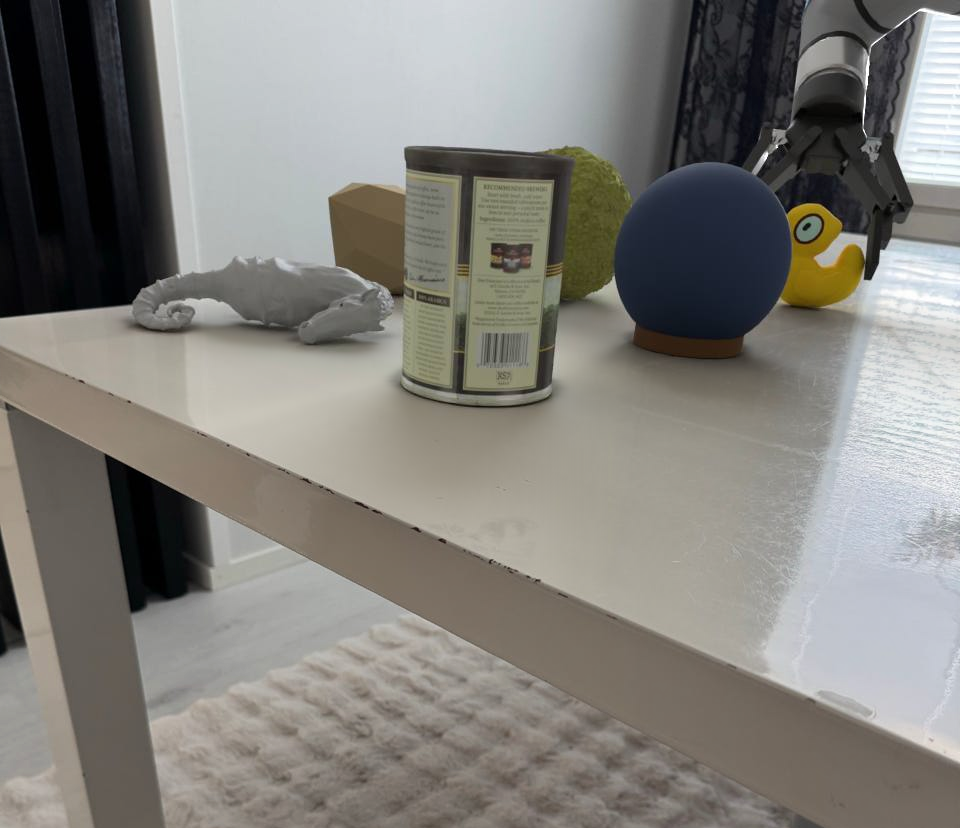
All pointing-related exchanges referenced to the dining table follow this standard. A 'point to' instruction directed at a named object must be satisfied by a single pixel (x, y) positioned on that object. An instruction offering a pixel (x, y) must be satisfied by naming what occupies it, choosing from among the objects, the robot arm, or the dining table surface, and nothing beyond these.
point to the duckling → (806, 275)
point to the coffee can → (482, 272)
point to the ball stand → (702, 260)
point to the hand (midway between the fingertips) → (810, 266)
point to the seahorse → (274, 297)
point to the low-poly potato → (370, 232)
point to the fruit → (591, 222)
